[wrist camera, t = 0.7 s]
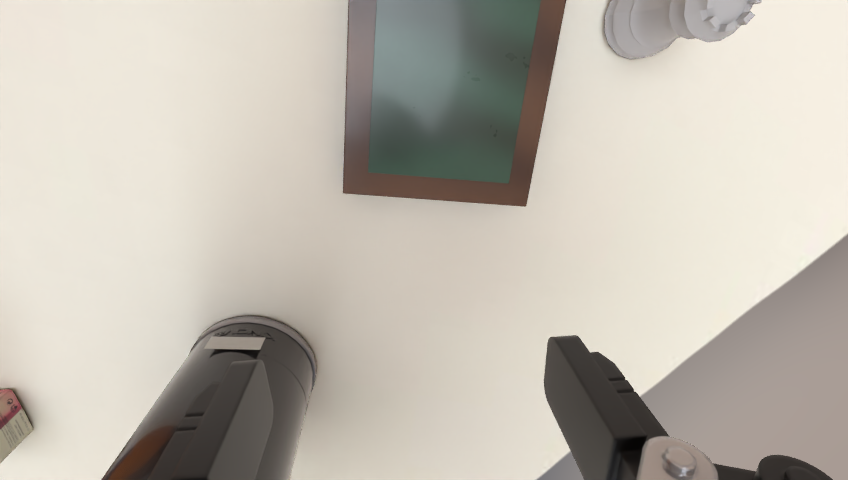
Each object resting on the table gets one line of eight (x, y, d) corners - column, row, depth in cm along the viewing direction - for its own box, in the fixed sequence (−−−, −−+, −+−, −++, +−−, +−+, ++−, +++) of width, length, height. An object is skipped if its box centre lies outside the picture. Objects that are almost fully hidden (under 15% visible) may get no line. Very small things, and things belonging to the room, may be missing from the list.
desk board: (518, 199, 30) (526, 207, 28) (345, 186, 28) (342, 194, 27) (585, -164, 22) (603, -185, 21) (357, -204, 21) (354, -230, 19)
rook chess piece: (592, 56, 27) (672, 50, 19) (610, -27, 25) (704, -68, 17) (659, 62, 27) (761, 59, 20) (680, -18, 25) (801, -54, 18)
